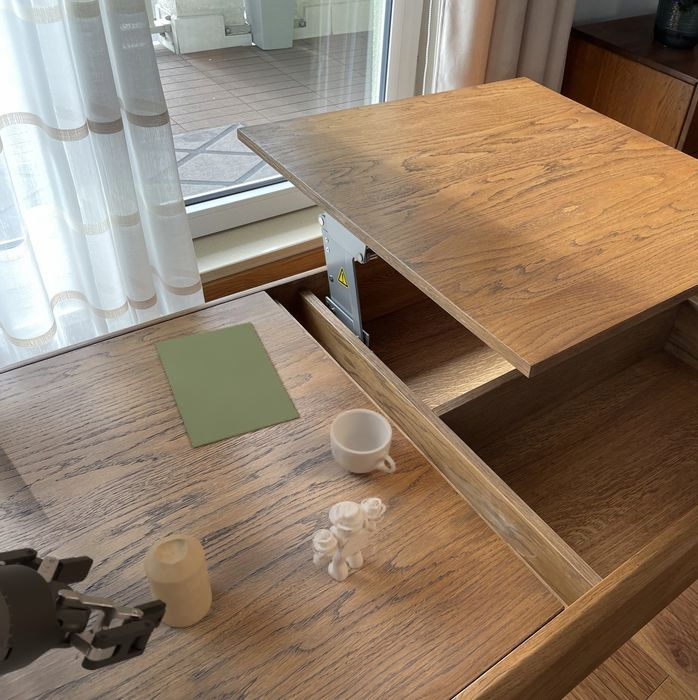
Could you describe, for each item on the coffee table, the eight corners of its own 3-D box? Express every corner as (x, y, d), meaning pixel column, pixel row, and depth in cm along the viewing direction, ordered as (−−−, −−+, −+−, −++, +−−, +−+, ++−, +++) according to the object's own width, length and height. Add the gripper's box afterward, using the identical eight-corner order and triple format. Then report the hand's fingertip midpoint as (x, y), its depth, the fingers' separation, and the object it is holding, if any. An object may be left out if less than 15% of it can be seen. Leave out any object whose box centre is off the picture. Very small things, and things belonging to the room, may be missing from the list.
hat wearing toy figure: (324, 602, 77) (324, 537, 70) (303, 577, 79) (301, 511, 72) (388, 555, 83) (395, 490, 75) (367, 533, 85) (371, 467, 77)
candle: (199, 571, 78) (187, 516, 72) (221, 609, 75) (212, 555, 69) (148, 597, 75) (132, 542, 69) (169, 638, 72) (154, 584, 66)
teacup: (317, 457, 92) (317, 428, 89) (361, 427, 97) (362, 399, 94) (370, 502, 88) (372, 474, 85) (413, 469, 93) (417, 441, 89)
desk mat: (193, 448, 91) (193, 447, 91) (155, 344, 105) (155, 343, 105) (299, 417, 97) (299, 416, 97) (250, 323, 111) (250, 322, 111)
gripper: (-135, 631, 50) (47, 591, 66) (11, 736, 46) (167, 667, 62) (-88, 532, 51) (82, 516, 66) (60, 628, 47) (203, 587, 62)
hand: (123, 589), depth 64 cm, fingers open, 8 cm apart
